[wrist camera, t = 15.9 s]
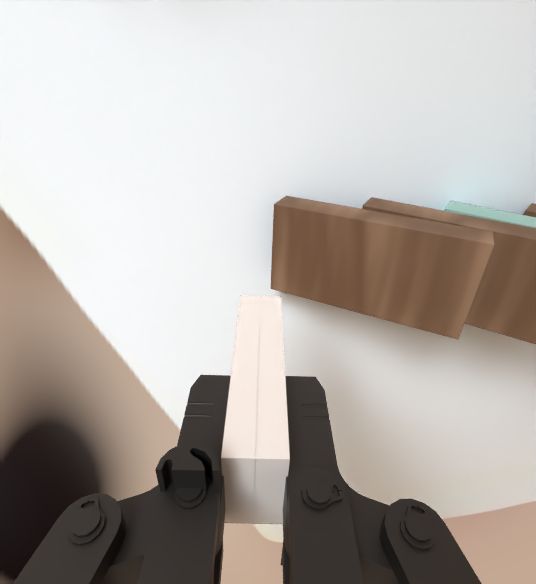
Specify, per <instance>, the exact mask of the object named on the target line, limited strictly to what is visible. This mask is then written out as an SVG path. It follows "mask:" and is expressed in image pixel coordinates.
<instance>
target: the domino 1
mask: <svg viewBox="0 0 536 584" xmlns="http://www.w3.org/2000/svg"><path fill="white" fill-rule="evenodd" d="M493 247H494V238H493V232H492V231H486V230H481V229H475V228H469V227H463V226H457V225H452V224H446V223H440V222H434V221H429V220H423V219H417V218H411V217H405V216H400V215H394V214H388V213H382V212H376V211H371V210H365V209H359V208H353V207H347V206H342V205H336V204H330V203H324V202H319V201H313V200H307V199H301V198H295V197H290V196H286V197H284V198H283V199H281V200H280V201H278V202H277V203H275V204H274V219H273V244H272V269H271V289H274V290H278V291H281V292H285V293H289V294H292V295H296V296H300V297H303V298H307V299H311V300H314V301H318V302H322V303H325V304H329V305H333V306H337V307H340V308H344V309H348V310H351V311H355V312H359V313H362V314H366V315H370V316H373V317H377V318H381V319H384V320H388V321H392V322H396V323H399V324H403V325H407V326H410V327H414V328H418V329H421V330H425V331H429V332H432V333H436V334H440V335H443V336H447V337H451V338H455V339H458V338H459V336H460V333H461V330H462V328H463V325H464V323H465V320H466V317H467V315H468V312H469V310H470V307H471V304H472V302H473V299H474V297H475V294H476V291H477V289H478V286H479V283H480V281H481V278H482V276H483V273H484V270H485V268H486V265H487V263H488V260H489V257H490V255H491V252H492V250H493Z"/></svg>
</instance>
